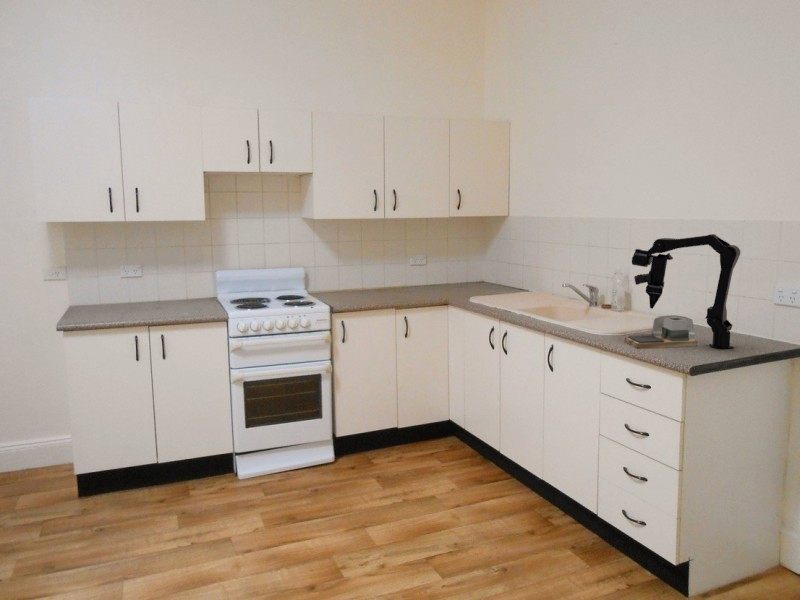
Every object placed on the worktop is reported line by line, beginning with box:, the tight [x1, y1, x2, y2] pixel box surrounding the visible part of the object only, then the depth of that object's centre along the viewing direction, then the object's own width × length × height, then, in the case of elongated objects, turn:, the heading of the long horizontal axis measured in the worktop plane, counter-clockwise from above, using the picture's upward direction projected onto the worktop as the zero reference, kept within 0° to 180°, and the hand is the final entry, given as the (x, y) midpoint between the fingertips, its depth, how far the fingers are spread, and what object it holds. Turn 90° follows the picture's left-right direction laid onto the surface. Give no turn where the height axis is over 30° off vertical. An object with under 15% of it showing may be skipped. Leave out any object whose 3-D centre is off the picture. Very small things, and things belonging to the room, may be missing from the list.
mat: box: [628, 334, 664, 343], centre depth 255 cm, size 10×10×1 cm
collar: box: [664, 317, 688, 331], centre depth 255 cm, size 6×6×4 cm
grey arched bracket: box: [651, 314, 696, 340], centre depth 269 cm, size 17×5×10 cm, turn 74°
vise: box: [624, 327, 698, 350], centre depth 256 cm, size 12×24×9 cm, turn 94°
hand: (652, 306), depth 263 cm, fingers open, 9 cm apart
